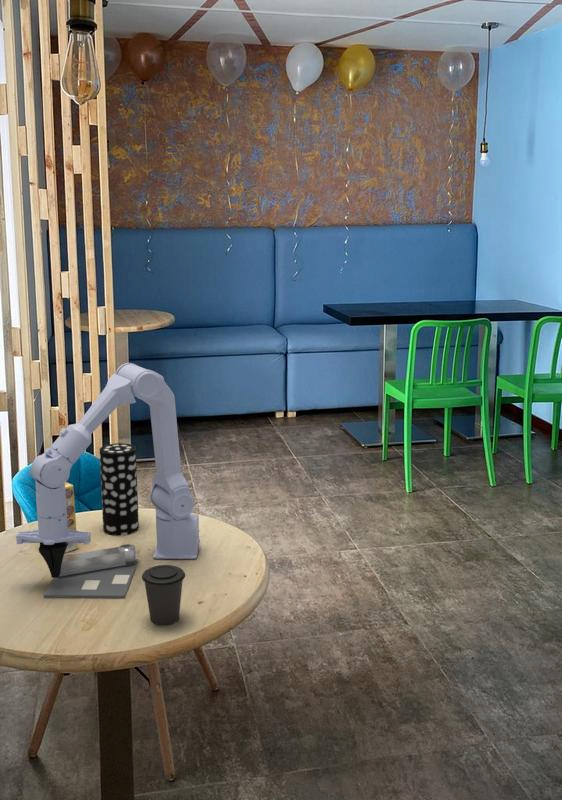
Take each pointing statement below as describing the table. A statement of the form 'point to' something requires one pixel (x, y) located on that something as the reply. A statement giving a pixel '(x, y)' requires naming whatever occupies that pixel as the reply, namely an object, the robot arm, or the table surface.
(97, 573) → the label plate
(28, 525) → the table surface
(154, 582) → the coffee cup
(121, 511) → the spotted tube
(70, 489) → the candy box
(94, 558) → the swing arm
